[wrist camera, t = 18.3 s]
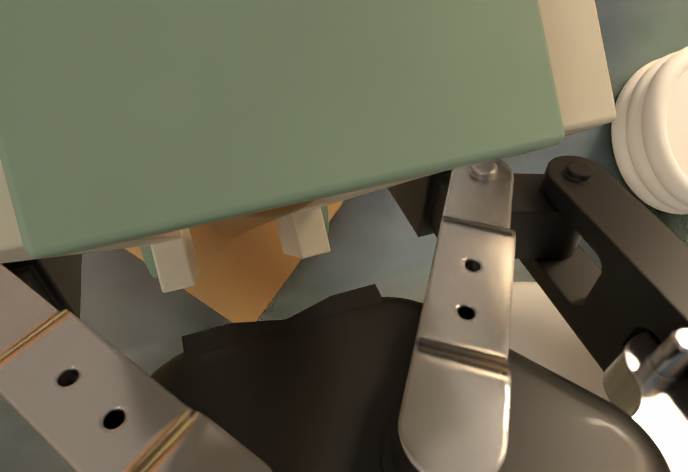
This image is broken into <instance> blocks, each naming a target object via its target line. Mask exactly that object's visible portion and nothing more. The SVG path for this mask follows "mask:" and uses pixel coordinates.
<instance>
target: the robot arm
mask: <svg viewBox="0 0 688 472" xmlns="http://www.w3.org/2000/svg"><path fill="white" fill-rule="evenodd" d="M388 189H389V191H390V192H391V194H392V196H393V197H394V199H395V200H396V202H397V203H398V205H399V207H400V208H401V210H402V211H403V213H404V215H405V216H406V218H407V219H408V221H409V223H410V224H411V226H412V227H413V229H414V231H415V232H416V234H417V235H418V237H420V236H424V235H428V234H432V233H434V234H435V235H436V237H437V243H436V247H435V252H434V257H433V261H432V266H431V270H430V275H429V280H428V284H427V289H426V294H425V298H424V303H423V304H422V303H420V302H416V301H413V300H409V299H403V298H396V297H381V295H380V293H379V291H378V289H377V287H376V285H375V284H373V285H369V286H366V287H362V288H358V289H355V290H351V291H347V292H344V293H340V294H336V295H333V296H330V297H328V298H326V299H324V300H322V301H321V302H319V303H317V304H315V305H313V306H311V307H309V308H307V309H306V310H304V311H302V312H300V313H298V314H296V315H294V316H292V317H290V318H288V319H285V320H272V321H255V322H237V323H230V324H226V325H223V326H219V327H215V328H212V329H208V330H204V331H201V332H197V333H193V334H190V335H186V336H182V342H183V349H184V352H183V353H181V354H179V355H177V356H176V357H174V358H173V359H171V360H170V361H168V362H167V363H165V364H164V365H163V366H161V367H160V368H159V369H158V370H156V371H155V372H154V373H153V374H152V375H151V376H149V375H148V374H147V373H146V372H144V371H143V370H142V369H141V368H140V367H138V366H137V365H136V364H135V363H133V362H132V361H131V360H130V359H128V358H127V357H126V356H125V355H123V354H122V353H121V352H120V351H119V350H117V349H116V348H115V347H114V346H112V345H111V344H110V343H109V342H107V341H106V340H105V339H104V338H102V337H101V336H100V335H99V334H98V333H96V332H95V331H94V330H93V329H91V328H90V327H89V326H88V325H86V324H85V323H84V322H83V321H81V320H80V297H81V260H82V254H75V255H66V256H58V257H50V258H42V259H33V260H25V261H17V262H9V263H0V394H1V395H2V396H3V397H4V398H5V399H6V400H7V401H8V402H9V403H10V404H11V405H12V406H13V407H14V408H15V409H16V410H17V411H18V412H19V413H20V414H21V415H22V416H23V417H24V418H25V419H26V420H27V421H28V422H29V424H30V425H31V426H32V427H33V428H34V429H35V430H36V431H37V432H38V433H39V434H40V435H41V436H42V437H43V438H44V439H45V440H46V441H47V442H48V443H49V444H50V445H51V446H52V447H53V448H54V449H55V450H56V451H57V452H58V453H59V454H60V455H61V456H62V457H63V458H64V459H65V460H66V461H67V462H68V463H69V464H70V465H71V466H72V467H73V468H74V469H75V470H76V471H77V472H688V245H687V244H686V243H684V242H683V241H682V240H681V239H680V238H679V237H678V236H677V235H676V234H675V233H674V232H672V231H671V230H670V229H669V228H668V227H667V226H666V225H665V224H664V223H663V222H662V221H660V220H659V219H658V218H657V217H656V216H655V215H654V214H653V213H652V212H651V211H650V210H648V209H647V208H646V207H645V206H644V205H643V204H642V203H641V202H640V201H639V200H637V199H636V198H635V197H634V196H633V195H632V194H631V193H630V192H629V191H628V190H627V189H625V188H624V187H623V186H622V185H621V184H620V183H619V182H618V181H617V180H616V179H615V178H613V177H612V176H611V175H610V174H609V173H608V172H607V171H606V170H605V169H604V168H602V167H601V166H600V165H598V164H597V163H595V162H593V161H591V160H588V159H586V158H582V157H578V156H560V157H556V158H554V159H553V160H551V161H550V162H549V164H548V166H547V169H546V171H545V174H515V173H513V171H512V170H511V168H510V167H509V166H508V165H507V164H506V163H505V162H503V161H501V160H500V159H497V160H493V161H488V162H484V163H479V164H475V165H470V166H466V167H461V168H457V169H452V170H448V171H443V172H439V173H436V174H432V175H429V176H425V177H422V178H419V179H415V180H412V181H408V182H405V183H401V184H398V185H395V186H391V187H388ZM582 237H583V239H584V240H585V241H586V242H587V243H588V244H589V245H590V246H591V247H592V248H593V250H594V251H595V252H596V253H597V254H598V256H599V258H600V261H601V265H602V270H601V269H600V268H599V267H598V266H597V265H596V264H595V263H594V262H593V260H592V259H591V258H590V257H589V256H588V255H587V254H586V253H585V251H584V250H583V249H582V248H581V247H580V246H579V245H578V244H579V242H580V240H581V238H582ZM514 258H518V259H520V261H521V262H522V263H523V265H524V266H525V267H526V269H527V270H528V271H529V273H530V274H531V275H532V277H533V278H534V279H535V281H536V282H537V283H538V285H539V286H540V287H541V289H542V290H543V291H544V293H545V294H546V295H547V297H548V298H549V299H550V301H551V302H552V303H553V305H554V306H555V307H556V309H557V310H558V311H559V313H560V314H561V315H562V317H563V318H564V319H565V321H566V322H567V324H568V325H569V326H570V328H571V329H572V330H573V332H574V333H575V334H576V336H577V337H578V338H579V340H580V341H581V342H582V344H583V345H584V346H585V348H586V349H587V350H588V352H589V353H590V354H591V356H592V357H593V358H594V360H595V361H596V362H597V364H598V365H599V366H600V368H601V369H602V370H603V372H604V376H603V386H604V390H605V392H606V395H607V397H608V398H609V400H610V401H607V400H605V399H603V398H602V397H600V396H598V395H596V394H594V393H592V392H590V391H588V390H587V389H585V388H583V387H581V386H579V385H577V384H575V383H573V382H572V381H570V380H568V379H566V378H564V377H562V376H560V375H558V374H556V373H555V372H553V371H551V370H549V369H547V368H545V367H543V366H541V365H540V364H538V363H536V362H534V361H532V360H530V359H528V358H526V357H525V356H523V355H521V354H519V353H517V352H515V351H513V350H511V349H510V348H509V338H510V322H511V305H512V289H513V273H514Z"/></svg>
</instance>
